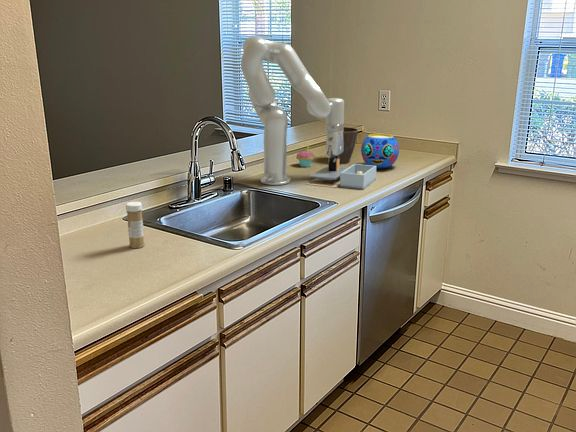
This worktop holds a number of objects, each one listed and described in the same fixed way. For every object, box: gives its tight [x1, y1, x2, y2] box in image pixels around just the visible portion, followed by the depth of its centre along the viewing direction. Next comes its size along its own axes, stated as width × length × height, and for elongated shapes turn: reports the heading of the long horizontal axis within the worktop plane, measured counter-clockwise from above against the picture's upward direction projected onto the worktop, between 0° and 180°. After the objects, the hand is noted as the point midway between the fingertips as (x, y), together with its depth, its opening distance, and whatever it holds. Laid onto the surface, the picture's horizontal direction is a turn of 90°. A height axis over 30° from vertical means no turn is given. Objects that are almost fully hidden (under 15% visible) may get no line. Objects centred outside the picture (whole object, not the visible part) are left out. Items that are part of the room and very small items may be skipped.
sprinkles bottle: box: [125, 201, 145, 249], centre depth 176 cm, size 5×5×13 cm
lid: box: [310, 158, 348, 180], centre depth 253 cm, size 19×11×7 cm, turn 156°
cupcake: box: [295, 142, 315, 168], centre depth 279 cm, size 9×8×12 cm
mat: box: [306, 177, 340, 189], centre depth 255 cm, size 22×13×1 cm, turn 156°
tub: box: [339, 163, 377, 190], centre depth 249 cm, size 18×10×6 cm, turn 156°
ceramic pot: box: [360, 133, 400, 169], centre depth 275 cm, size 18×18×15 cm
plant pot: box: [339, 126, 359, 165], centre depth 286 cm, size 15×15×16 cm
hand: (333, 169), depth 257 cm, fingers closed on lid, 2 cm apart
